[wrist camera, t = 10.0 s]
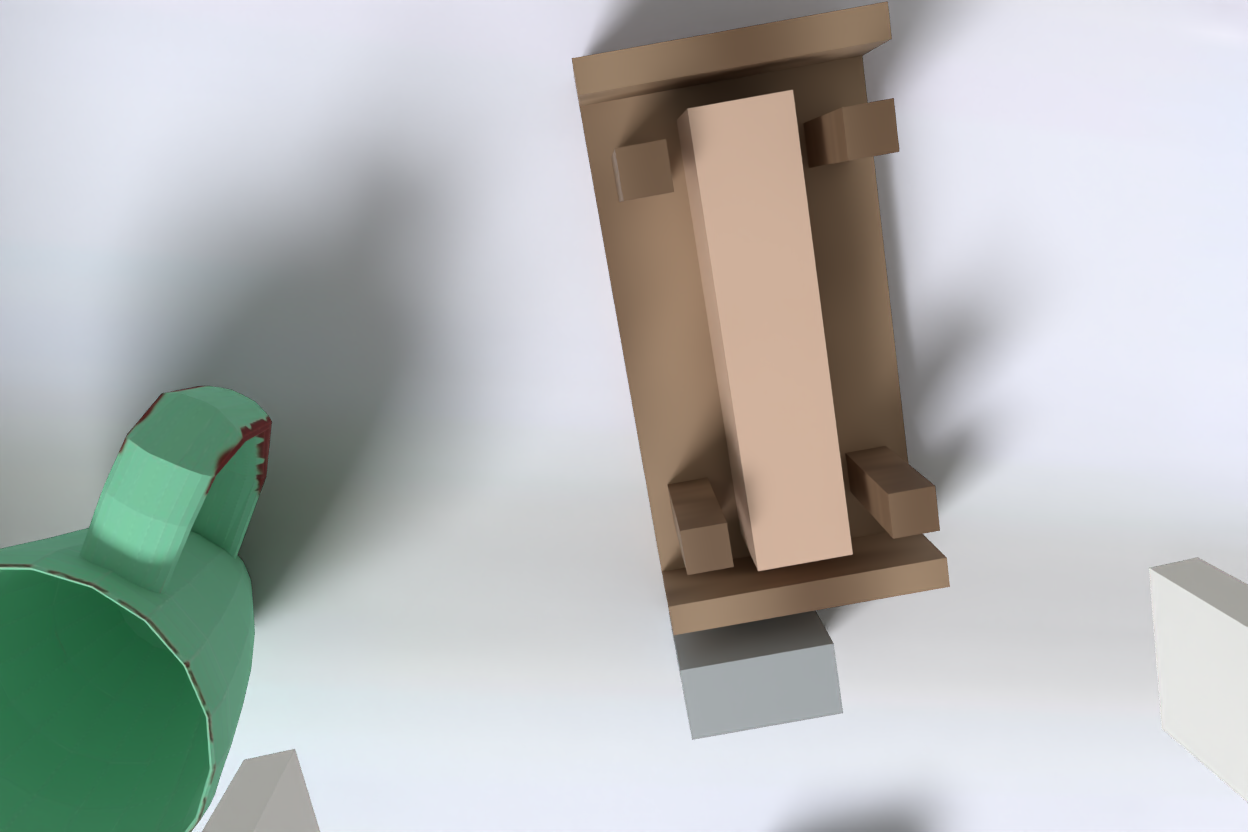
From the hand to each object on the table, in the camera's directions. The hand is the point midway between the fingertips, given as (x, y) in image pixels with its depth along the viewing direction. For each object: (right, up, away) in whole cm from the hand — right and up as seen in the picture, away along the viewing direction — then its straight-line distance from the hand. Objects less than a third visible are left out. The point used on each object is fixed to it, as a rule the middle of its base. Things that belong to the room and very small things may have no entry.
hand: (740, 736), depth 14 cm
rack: (+3, +8, +18) cm, 20 cm away
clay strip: (+3, +8, +17) cm, 19 cm away
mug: (-16, +1, +20) cm, 25 cm away
